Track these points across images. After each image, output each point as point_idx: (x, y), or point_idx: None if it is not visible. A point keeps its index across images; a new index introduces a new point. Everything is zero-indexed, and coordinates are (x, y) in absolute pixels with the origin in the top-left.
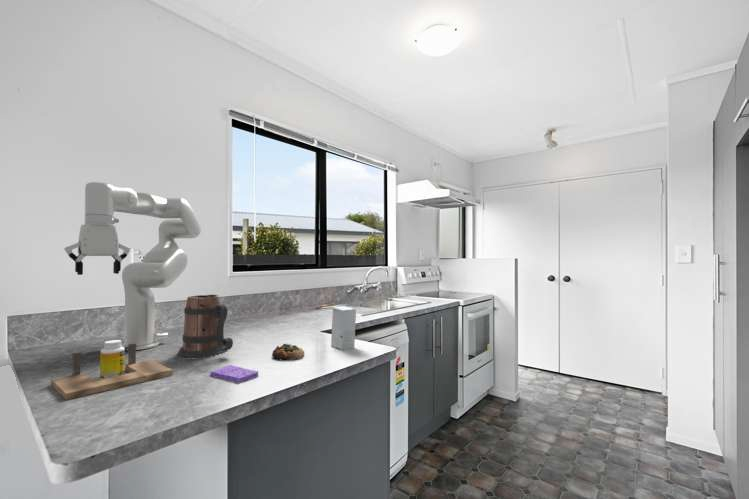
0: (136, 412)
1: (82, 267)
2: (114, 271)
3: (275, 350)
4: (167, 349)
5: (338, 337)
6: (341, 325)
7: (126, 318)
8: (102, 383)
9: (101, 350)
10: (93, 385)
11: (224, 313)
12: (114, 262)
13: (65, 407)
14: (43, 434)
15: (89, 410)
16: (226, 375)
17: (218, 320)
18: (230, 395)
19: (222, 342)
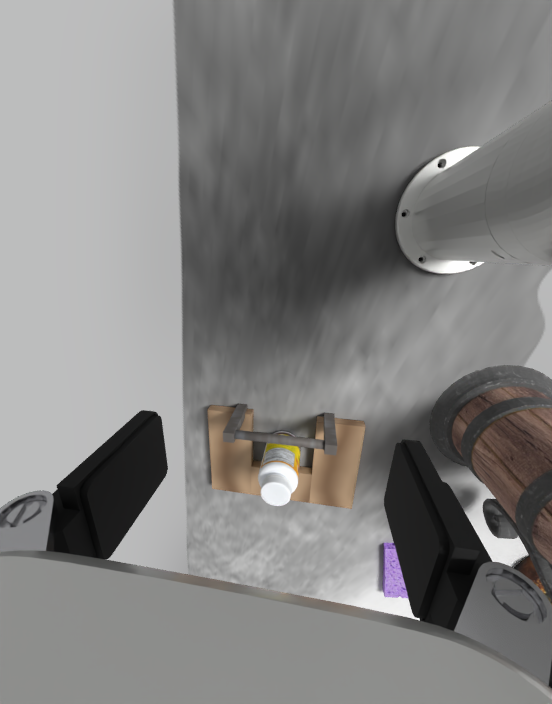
0: (258, 566)
1: (135, 517)
2: (395, 476)
3: (537, 578)
4: (471, 324)
5: None
6: None
7: (452, 209)
8: (254, 487)
9: (259, 477)
10: (244, 486)
11: None
12: (429, 563)
13: (211, 502)
14: (187, 545)
15: (227, 528)
16: (385, 575)
17: (536, 563)
18: (346, 603)
19: (496, 518)
